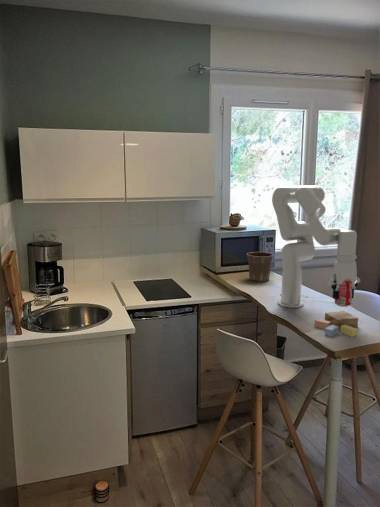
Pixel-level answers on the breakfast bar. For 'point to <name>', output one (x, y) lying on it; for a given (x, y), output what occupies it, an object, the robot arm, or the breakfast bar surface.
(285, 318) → the breakfast bar surface
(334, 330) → the slate brick
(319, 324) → the terracotta brick
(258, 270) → the plant pot
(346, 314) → the tan flat block
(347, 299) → the soda can
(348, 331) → the mustard brick
